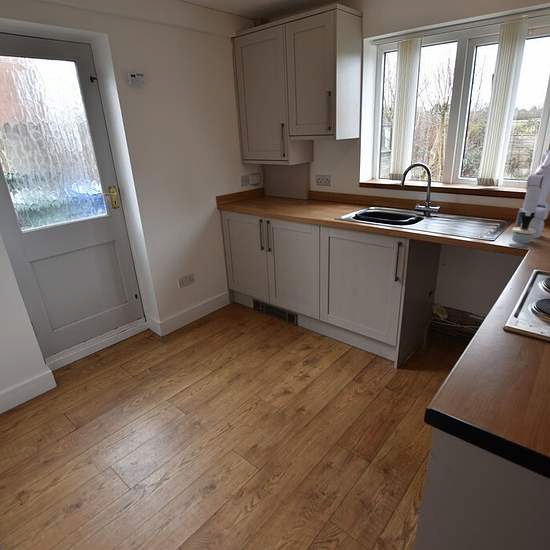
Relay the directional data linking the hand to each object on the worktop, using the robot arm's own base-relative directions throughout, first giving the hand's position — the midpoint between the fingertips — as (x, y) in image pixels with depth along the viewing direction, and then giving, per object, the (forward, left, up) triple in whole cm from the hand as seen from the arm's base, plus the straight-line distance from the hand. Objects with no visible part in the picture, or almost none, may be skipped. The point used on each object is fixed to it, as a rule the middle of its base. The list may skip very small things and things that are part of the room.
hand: (524, 227), depth 184 cm
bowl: (0, 0, -7) cm, 7 cm away
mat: (+11, +4, -7) cm, 14 cm away
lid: (0, 0, -2) cm, 2 cm away
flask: (-30, -14, -7) cm, 34 cm away
